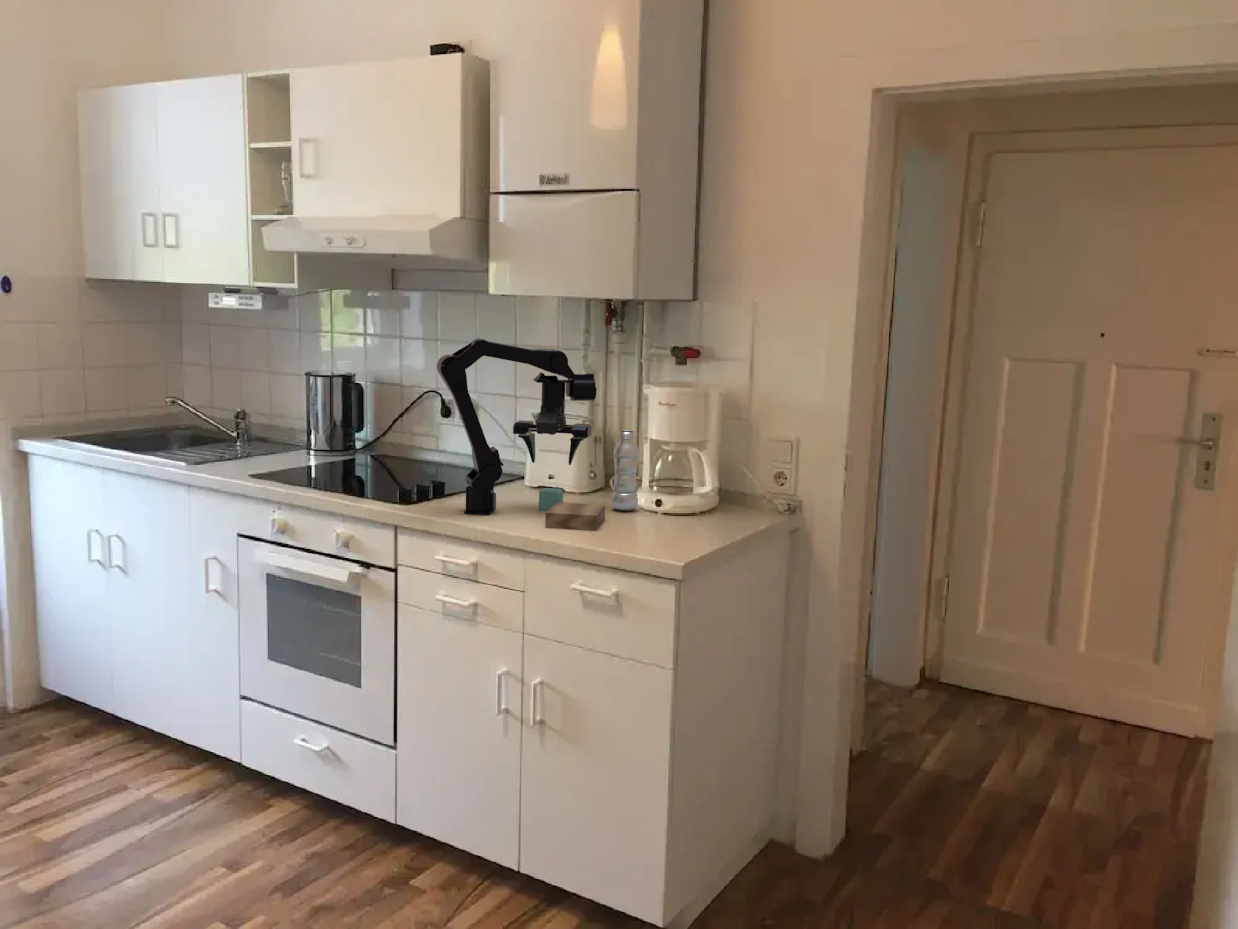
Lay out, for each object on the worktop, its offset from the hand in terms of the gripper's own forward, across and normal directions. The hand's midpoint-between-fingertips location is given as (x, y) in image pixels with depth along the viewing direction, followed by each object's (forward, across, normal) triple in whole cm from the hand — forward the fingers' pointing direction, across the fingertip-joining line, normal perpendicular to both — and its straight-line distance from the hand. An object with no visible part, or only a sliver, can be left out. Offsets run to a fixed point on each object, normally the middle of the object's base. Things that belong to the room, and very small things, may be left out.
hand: (551, 463), depth 259 cm
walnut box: (+12, +9, -14) cm, 20 cm away
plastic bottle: (+12, +18, +4) cm, 22 cm away
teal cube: (+12, 0, 0) cm, 12 cm away
